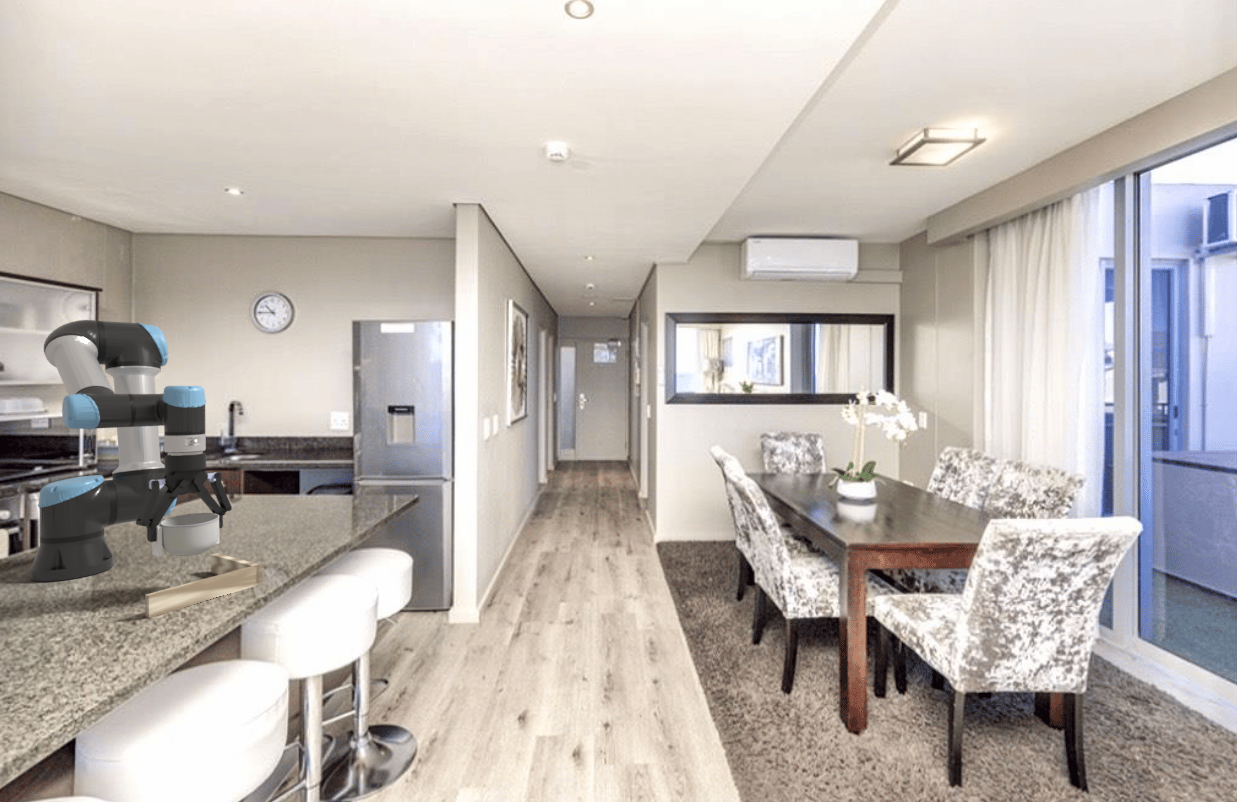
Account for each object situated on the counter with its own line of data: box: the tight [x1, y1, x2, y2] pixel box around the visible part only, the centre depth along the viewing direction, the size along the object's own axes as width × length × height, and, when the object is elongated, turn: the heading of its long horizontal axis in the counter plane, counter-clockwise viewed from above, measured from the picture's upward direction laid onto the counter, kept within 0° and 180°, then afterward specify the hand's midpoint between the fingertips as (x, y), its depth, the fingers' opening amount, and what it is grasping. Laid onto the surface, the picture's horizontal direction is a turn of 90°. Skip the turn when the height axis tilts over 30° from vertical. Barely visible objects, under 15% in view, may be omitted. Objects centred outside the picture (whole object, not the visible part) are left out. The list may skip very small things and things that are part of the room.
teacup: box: [158, 512, 220, 557], centre depth 129 cm, size 14×11×8 cm
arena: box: [144, 552, 264, 619], centre depth 129 cm, size 20×22×4 cm
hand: (187, 549), depth 129 cm, fingers closed on teacup, 11 cm apart
